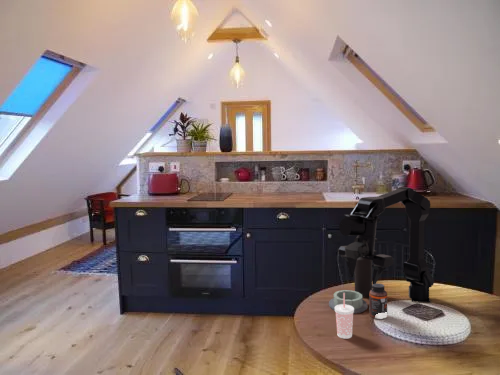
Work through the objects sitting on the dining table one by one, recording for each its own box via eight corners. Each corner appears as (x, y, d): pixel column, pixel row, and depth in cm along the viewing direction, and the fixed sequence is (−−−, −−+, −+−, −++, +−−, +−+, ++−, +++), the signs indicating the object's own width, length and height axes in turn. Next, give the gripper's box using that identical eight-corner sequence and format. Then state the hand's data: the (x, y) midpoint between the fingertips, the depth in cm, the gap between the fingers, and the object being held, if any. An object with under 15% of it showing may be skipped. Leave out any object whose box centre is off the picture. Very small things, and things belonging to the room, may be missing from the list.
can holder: (365, 298, 153) (365, 289, 153) (369, 314, 140) (369, 303, 139) (329, 297, 156) (328, 287, 156) (328, 312, 143) (328, 302, 142)
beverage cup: (331, 333, 128) (330, 291, 126) (346, 328, 130) (346, 287, 128) (342, 341, 122) (341, 298, 120) (358, 337, 124) (358, 294, 123)
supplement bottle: (388, 320, 135) (388, 288, 133) (370, 319, 136) (370, 288, 135) (386, 313, 141) (386, 282, 139) (368, 312, 142) (368, 281, 140)
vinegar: (353, 291, 162) (353, 243, 160) (370, 291, 161) (370, 243, 159) (355, 297, 155) (355, 248, 153) (373, 297, 154) (373, 247, 152)
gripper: (329, 231, 136) (325, 275, 137) (375, 241, 122) (371, 291, 122) (350, 230, 143) (346, 272, 144) (396, 239, 128) (391, 287, 129)
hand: (362, 280), depth 135 cm, fingers open, 9 cm apart
